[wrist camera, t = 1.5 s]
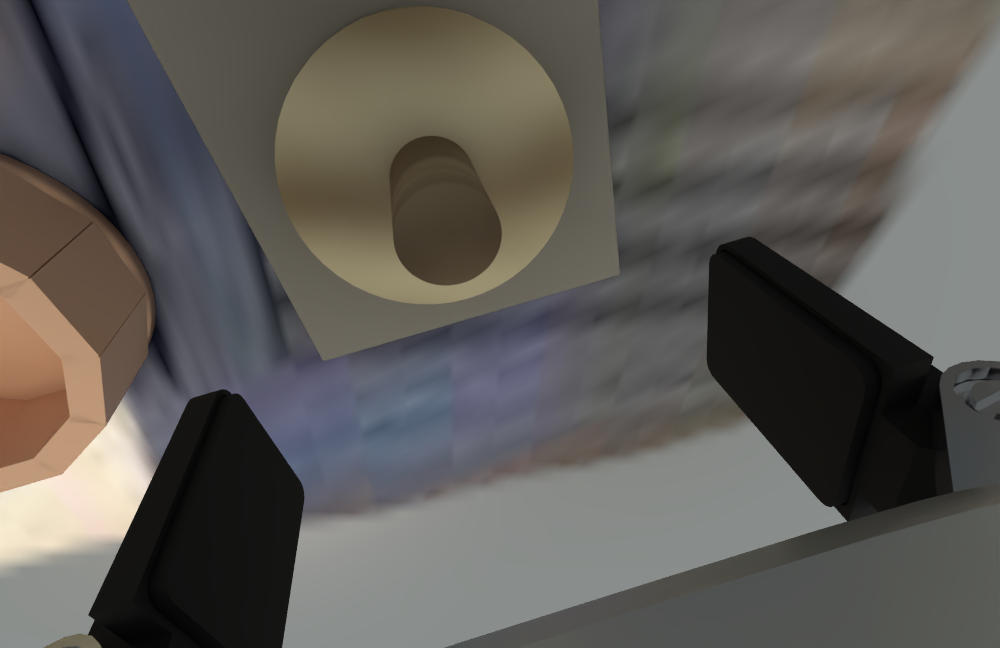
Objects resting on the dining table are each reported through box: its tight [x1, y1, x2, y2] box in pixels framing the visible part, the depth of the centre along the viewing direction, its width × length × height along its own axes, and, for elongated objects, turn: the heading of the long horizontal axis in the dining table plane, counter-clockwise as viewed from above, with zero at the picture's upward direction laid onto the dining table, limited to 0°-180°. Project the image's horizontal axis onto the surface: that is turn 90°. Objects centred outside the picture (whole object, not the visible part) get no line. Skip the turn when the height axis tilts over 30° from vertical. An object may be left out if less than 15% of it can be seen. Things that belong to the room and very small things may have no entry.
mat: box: [127, 0, 620, 361], centre depth 19 cm, size 14×14×1 cm
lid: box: [275, 6, 573, 304], centre depth 17 cm, size 10×10×6 cm
